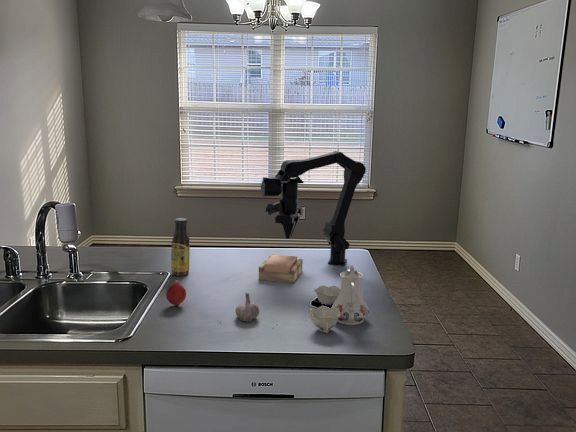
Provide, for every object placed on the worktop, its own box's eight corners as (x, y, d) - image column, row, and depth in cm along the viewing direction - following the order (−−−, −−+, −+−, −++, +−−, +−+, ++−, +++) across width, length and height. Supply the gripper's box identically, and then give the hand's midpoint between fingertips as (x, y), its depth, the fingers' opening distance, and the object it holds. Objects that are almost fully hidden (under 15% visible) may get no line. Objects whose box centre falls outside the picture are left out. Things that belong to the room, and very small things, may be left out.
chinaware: (311, 305, 174) (307, 254, 171) (364, 301, 173) (361, 250, 170) (311, 344, 147) (306, 284, 143) (375, 340, 146) (371, 280, 143)
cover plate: (273, 261, 203) (273, 254, 202) (297, 263, 201) (297, 256, 200) (264, 270, 191) (264, 263, 191) (289, 273, 189) (289, 266, 189)
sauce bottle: (167, 275, 194) (166, 219, 190) (177, 270, 200) (176, 216, 195) (184, 277, 192) (182, 221, 187) (193, 272, 197) (192, 218, 193)
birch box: (269, 267, 205) (269, 255, 204) (302, 270, 202) (302, 258, 201) (258, 279, 191) (258, 267, 190) (293, 283, 189) (294, 270, 188)
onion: (169, 310, 163) (168, 284, 161) (164, 304, 168) (163, 278, 166) (188, 307, 165) (188, 282, 164) (183, 301, 170) (182, 276, 169)
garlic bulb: (249, 326, 154) (249, 298, 152) (228, 320, 157) (228, 293, 156) (265, 317, 160) (265, 290, 158) (244, 311, 164) (244, 285, 162)
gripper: (274, 190, 212) (274, 229, 215) (261, 198, 194) (260, 242, 198) (303, 191, 210) (302, 232, 213) (292, 200, 192) (291, 244, 195)
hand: (288, 237), depth 205 cm, fingers open, 3 cm apart
